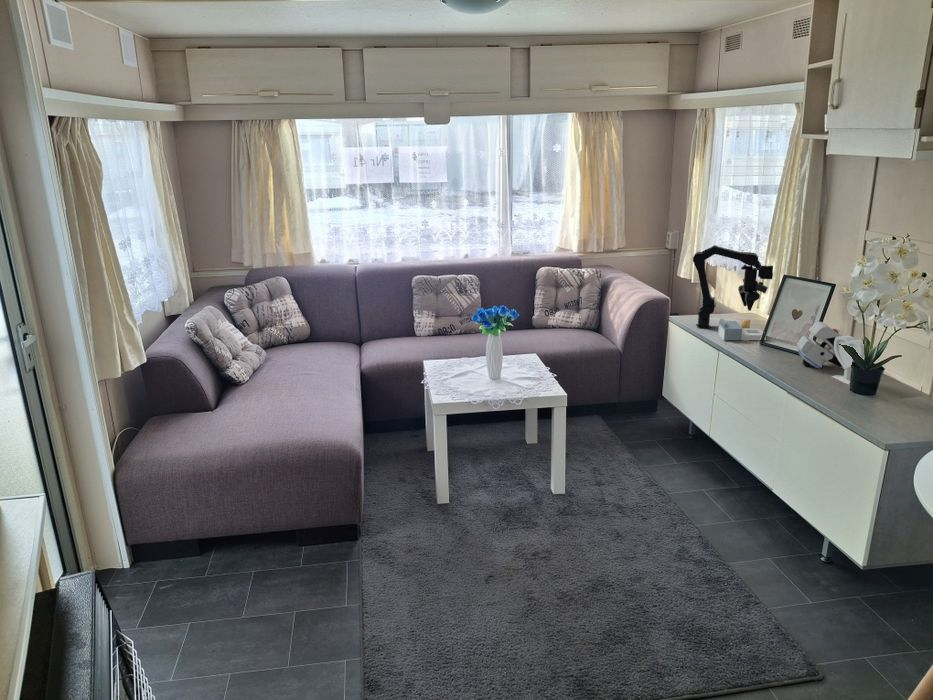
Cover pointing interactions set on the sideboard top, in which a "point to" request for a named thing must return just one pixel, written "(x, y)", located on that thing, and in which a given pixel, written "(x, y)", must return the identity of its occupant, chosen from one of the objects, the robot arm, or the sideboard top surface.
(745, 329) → the housing
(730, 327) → the cabinet
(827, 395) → the sideboard top surface
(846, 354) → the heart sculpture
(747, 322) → the rounded peg
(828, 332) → the robotic device
